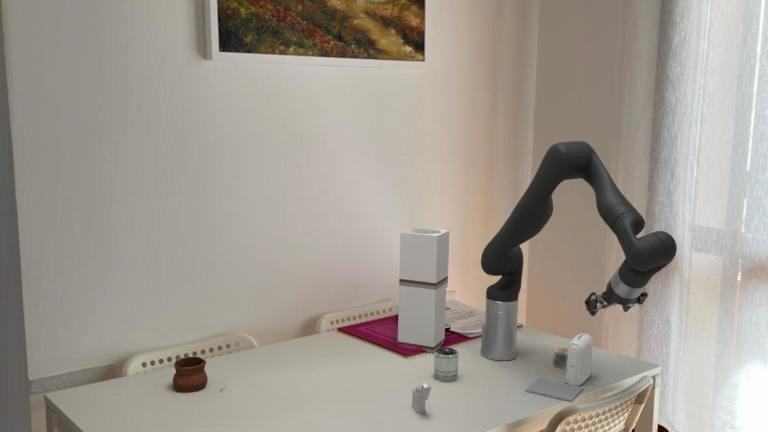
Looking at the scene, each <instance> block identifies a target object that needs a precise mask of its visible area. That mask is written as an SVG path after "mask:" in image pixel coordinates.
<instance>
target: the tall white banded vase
mask: <svg viewBox="0 0 768 432" xmlns="http://www.w3.org/2000/svg"><path fill="white" fill-rule="evenodd" d="M399 233H400V234H399V235H400V236H399V237H400V238H399V273H398V274H399V275H398V276H399V277H398V278H399V281H398V282H399V283H398V318H397V319H398V320H397V323H398V325H397V345H398V344H402V345H408V346H415V347H420V348H422V349H424V350H426V351H427V352H428V353H427V354H431V353H432V355H433V354H434V355H435V351H436V350H437V349H439V347H440V346H441V344H443V343H444V341H445V340H447V337H446V336H445V335H446V333H445V331H446V312H447V311H446V308H447V307H446V305H447V303H446V302H447V288H448V285H449V284H448V283H449V260H450V259H449V256H450V254H449V253H450V230H447V229H437V228H436V229H434V228H426V227H416V226H415V227H412V232H406V231H405V232H404V231H401V232H399Z"/></svg>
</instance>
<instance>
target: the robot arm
mask: <svg viewBox="0 0 768 432" xmlns="http://www.w3.org/2000/svg"><path fill="white" fill-rule="evenodd" d="M578 179H579V180H580V179H582V181H583V180H584V182H586V183H587V185H589V186H590V187H591V188H592V190H593V192H594V194H595V195H594V196H595V205H596V208H597V209H596V210H597V212H598V215H599V216H600V218H601V220H602V221H603V222H604V223H605V224H606V225H607V226H608V228H609V229H610V230H611V231H612V233H614V235H615V236H616V238H617V241H618V243H619V244H620V247H621V249H622V252H623V255H624V258H625V259H624V260H623V261H622V263H621V265H619V267H618V268H616V270H615V271H614V273H613V274H612V275H611V277H610V279H608V280H609V281H608V282H607V284H606V287H605V291H603V292H602V293H601V294H597V293H596V291H594V292H593V291H592V292H591V293H590V294H589V295H588V297H587V298H586V299H585V300H584V304H585V305H584V306H585V307H586V311H587V312H589V315H590V316H591V317H595V316H596V315H597V313H598V312H599V311H600V310H601V309H602V310H606V309H609V308H610V307H612V306H614V307H615V306H616V305H619V306H621V307H622V310H623V312H624V313H627V312H629V311H630V310H631V308H632V307H633V308H634V307H636V304H637V305H638V306H641V305H643V304H644V302H645V301H646V300H647V298H648V296H649V294H648V291H647V289H646V287H647V285H648V284H649V282H650V280H651V279H653V276H655V275H656V274H657V273H659V272H660V271H661V270H663V269H665V268H666V267H667V266H669V264H671V262H673V260H674V259H675V257H676V254H677V249H678V248H677V247H678V246H677V243H676V240H675V238H674V237H673V236H672V235H671V234H670V233H668V232H667V231H663V230H657V231H653V232H650V233H648V234H645V235H643V236H640V237H637V236H638V235H639V234H640V233H641V232H642V231H643V230H644V229H645V225H646V220H645V218H644V217H643V215H642V214H641V213H640V212H639V211H638V210H637V209H636V207H634V206H633V204H632V203H631V202H630V201H629V200H628V199H627V198H626V196H625V195H624V194H623V192H622V191H621V190H620V189H619V187H618V186H617V185H616V183H615V181H614V180H613V178H612V176H611V175H610V173H609V171H608V169H607V168H606V166H605V164H604V163H603V161H602V160H601V159H600V157H599V155H598V154H597V152H596V151H595V149H594V148H593V147H592V145H590V144H589V143H588V142H586V141H582V140H572V141H571V140H570V141H560V142H555V143H554V144H552V145H551V146H550V147H549V148H548V149H547V151H546V152H545V154H544V156H543V157H542V160H541V162H540V164H539V166H538V169H537V171H536V173H535V174H534V176H533V178H532V180H531V182H530V183H529V185H528V186H527V188H526V190H525V192H524V193H523V195H522V196H521V198H519V200H518V202H517V203H516V205H515V207H514V208H513V209H512V211H511V213H510V215H509V217H507V218H506V221H505V222H504V223H503V224H502V226H501V227H500V229H499V231H498V232H496V234H495V235H494V236H493V237H492V238H491V240H489V242H487V244H486V245H485V247H484V248H483V251H482V253H481V257H480V266H481V269H482V271H483V272H484V273H485V274H486V275H488V276H491V277H500V276H501V277H500V278H499V279H498V280H497V281H496V282H494V283H492V284H491V285H489V286H488V287H487V288H486V291H485V316H484V318H485V319H484V322H483V323H482V326H481V343H480V344H481V346H480V347H481V348H480V349H481V350H480V356H483V357H486V358H488V359H490V360H495V361H511V360H513V359H516V354H517V353H516V352H517V334H518V332H517V331H518V312H519V310H518V309H519V294H520V292H521V290H522V289H521V288H522V279H523V270H524V253H523V250H522V248H521V245H523V244H524V243H527V242H528V241H530V240H531V239H533V238H534V237H536V236H537V235H538V234H539V233H541V232H542V230H543V229H544V227H545V226H546V225H547V224H548V222H549V221H550V219H551V218H552V215H553V212H554V201H553V193H554V192H555V191H556V189H557V188H558V186H559V185H560V184H561V183H562V182H564V181H569V180H570V181H571V180H578ZM598 304H599V305H598Z"/></svg>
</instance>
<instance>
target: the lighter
mask: <svg viewBox="0 0 768 432" xmlns="http://www.w3.org/2000/svg"><path fill="white" fill-rule="evenodd" d="M431 390H432V386H431V384H430V382H425V383H422V384H421V387H420V386H416V387H415V388H414V389H412V399H411V407H412V408H413V409H414V410H415V411H416V412H417V413H418V414H425V413H426V401H427V400H428V399H429V396H430V394H431Z"/></svg>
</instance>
